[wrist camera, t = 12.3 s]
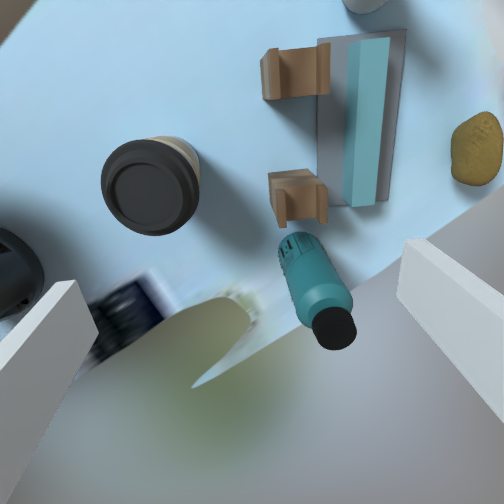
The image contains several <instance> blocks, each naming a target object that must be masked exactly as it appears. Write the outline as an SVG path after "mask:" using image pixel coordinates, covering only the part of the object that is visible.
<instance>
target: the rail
mask: <svg viewBox="0 0 504 504" xmlns="http://www.w3.org/2000/svg"><path fill="white" fill-rule="evenodd" d="M389 45H390V37H386V38H376V39H367V40H360V41H358V42H356V43H353V44H351V45H349V46H348V59H347V84H346V108H345V132H344V157H343V181H342V199H343V200H344V201H345V202H346V203H347V204H349V205H350V206H351V207H360V206H369V205H375V196H376V185H377V174H378V163H379V153H380V142H381V131H382V120H383V109H384V99H385V88H386V77H387V66H388V55H389Z"/></svg>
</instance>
